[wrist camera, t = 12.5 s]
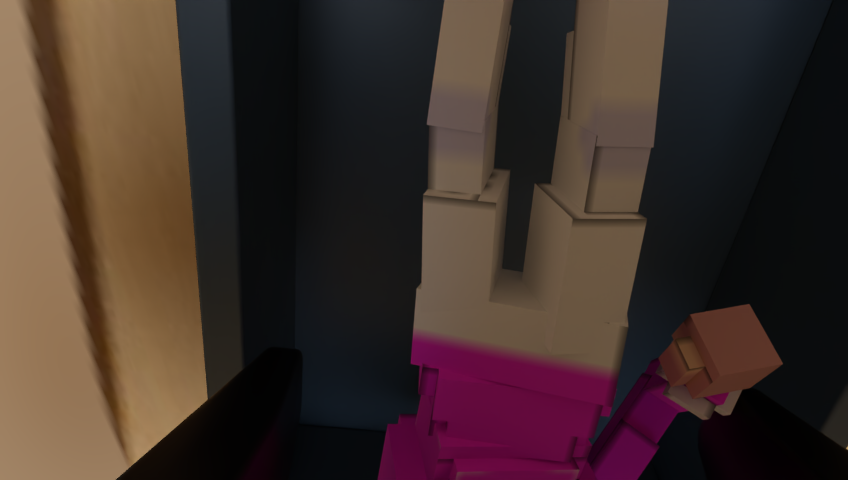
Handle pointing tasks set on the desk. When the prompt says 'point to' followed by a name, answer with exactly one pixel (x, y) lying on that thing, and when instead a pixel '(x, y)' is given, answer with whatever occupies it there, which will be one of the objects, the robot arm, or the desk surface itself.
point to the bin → (529, 163)
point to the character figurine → (550, 271)
